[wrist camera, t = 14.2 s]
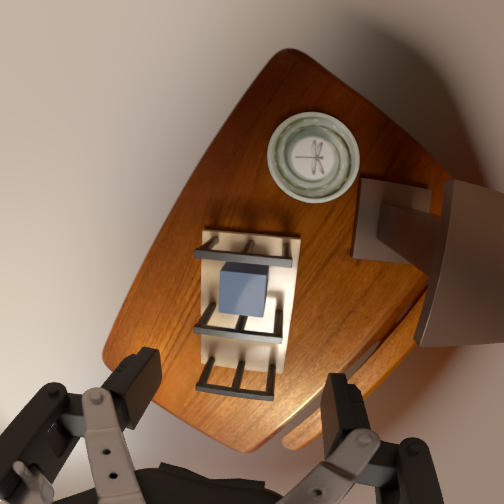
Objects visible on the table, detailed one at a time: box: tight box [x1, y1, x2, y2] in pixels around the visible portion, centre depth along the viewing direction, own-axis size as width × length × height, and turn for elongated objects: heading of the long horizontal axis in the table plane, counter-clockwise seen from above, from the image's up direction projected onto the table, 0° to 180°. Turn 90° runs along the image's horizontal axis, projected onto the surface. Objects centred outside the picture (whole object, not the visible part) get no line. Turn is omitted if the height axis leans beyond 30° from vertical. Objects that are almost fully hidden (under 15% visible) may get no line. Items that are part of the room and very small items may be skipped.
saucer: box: [267, 112, 360, 203], centre depth 30 cm, size 10×10×2 cm
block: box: [218, 261, 269, 318], centre depth 31 cm, size 5×5×5 cm
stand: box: [350, 178, 504, 347], centre depth 22 cm, size 9×9×20 cm
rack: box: [194, 229, 301, 401], centre depth 32 cm, size 18×11×7 cm, turn 176°
